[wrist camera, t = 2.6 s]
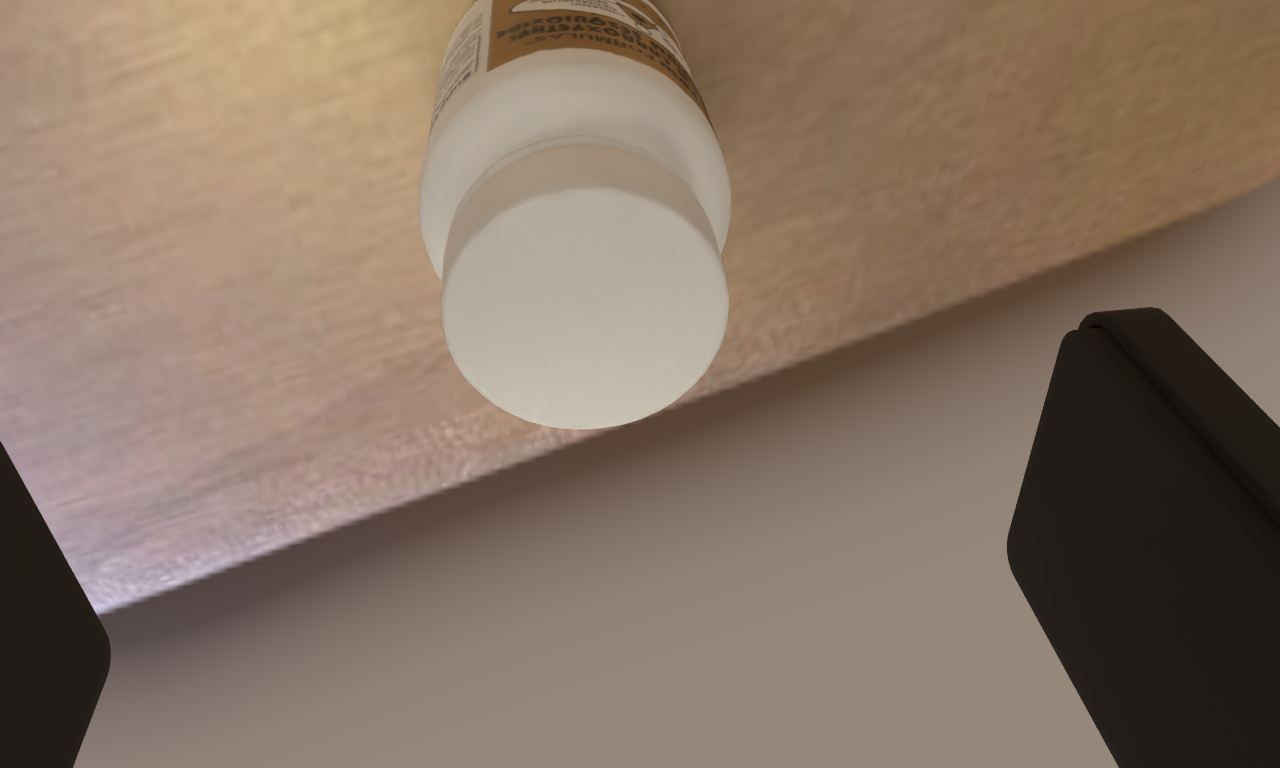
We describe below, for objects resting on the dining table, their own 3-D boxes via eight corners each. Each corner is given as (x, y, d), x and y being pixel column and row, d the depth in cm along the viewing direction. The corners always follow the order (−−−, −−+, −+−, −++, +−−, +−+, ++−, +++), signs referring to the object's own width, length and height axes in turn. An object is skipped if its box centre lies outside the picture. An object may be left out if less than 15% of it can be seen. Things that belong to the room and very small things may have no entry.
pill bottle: (729, 29, 18) (842, 236, 11) (619, 232, 20) (664, 499, 14) (496, -90, 16) (480, 75, 10) (405, 145, 18) (346, 399, 12)
